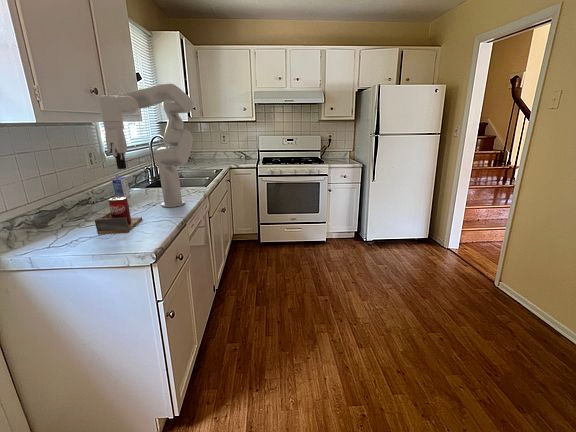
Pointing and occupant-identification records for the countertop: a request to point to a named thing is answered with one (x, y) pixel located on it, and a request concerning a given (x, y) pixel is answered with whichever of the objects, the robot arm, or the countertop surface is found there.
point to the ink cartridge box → (121, 187)
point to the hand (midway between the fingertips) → (122, 168)
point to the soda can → (120, 208)
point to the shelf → (115, 224)
